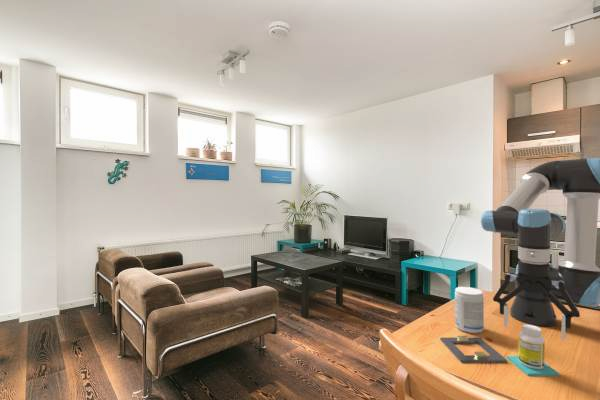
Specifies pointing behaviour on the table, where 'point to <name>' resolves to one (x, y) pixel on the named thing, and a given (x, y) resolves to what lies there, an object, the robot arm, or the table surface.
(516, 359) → the coaster
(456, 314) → the supplement tub
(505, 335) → the table surface
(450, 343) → the socket plate
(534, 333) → the pill bottle
